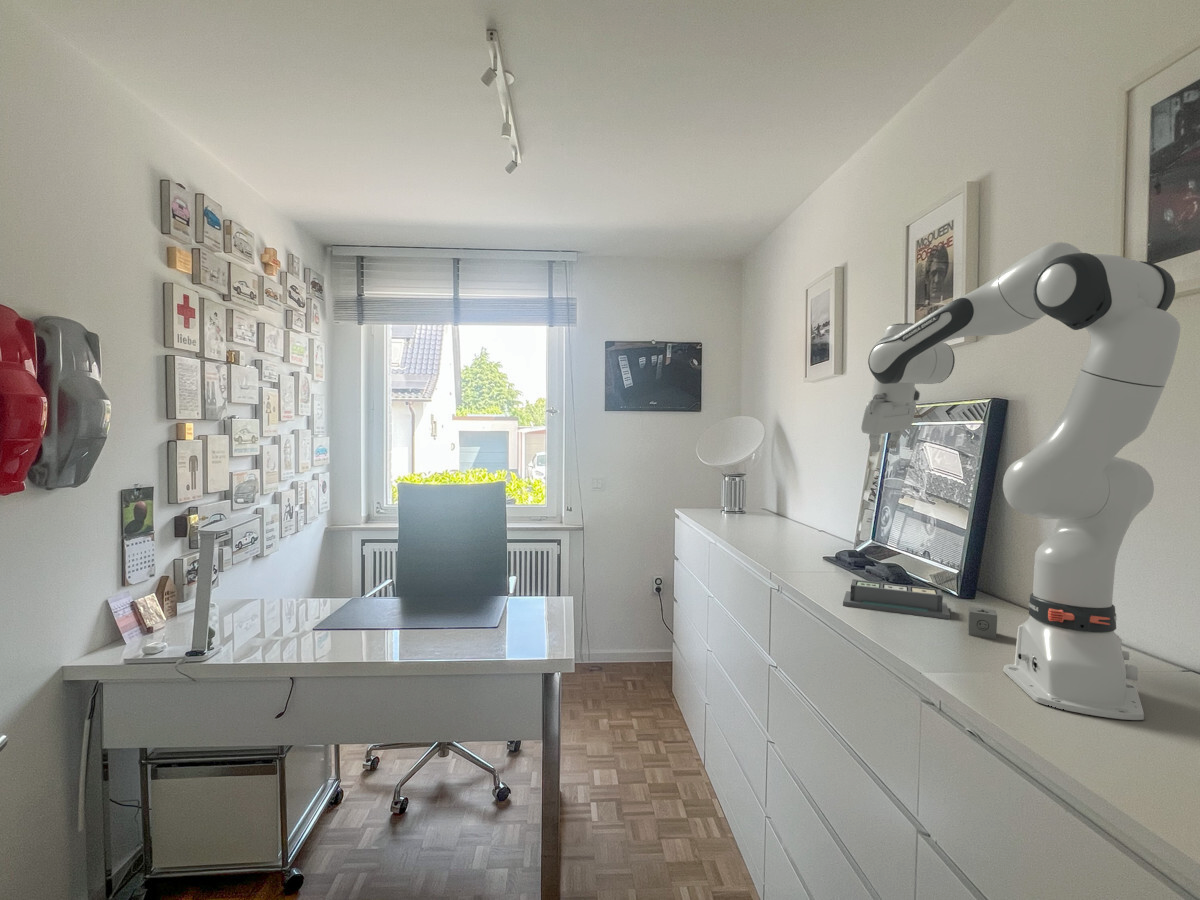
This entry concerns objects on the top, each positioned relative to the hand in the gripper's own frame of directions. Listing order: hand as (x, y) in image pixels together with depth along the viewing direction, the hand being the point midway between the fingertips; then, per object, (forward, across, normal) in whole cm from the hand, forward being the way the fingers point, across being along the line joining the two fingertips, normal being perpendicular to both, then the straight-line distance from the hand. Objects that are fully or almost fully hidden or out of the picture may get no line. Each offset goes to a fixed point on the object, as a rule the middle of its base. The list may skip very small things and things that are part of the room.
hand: (883, 449), depth 158 cm
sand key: (+34, +3, -14) cm, 37 cm away
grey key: (+35, +1, -8) cm, 36 cm away
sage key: (+35, -2, -3) cm, 36 cm away
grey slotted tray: (+37, +1, -9) cm, 38 cm away
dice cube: (+34, -7, -30) cm, 45 cm away
